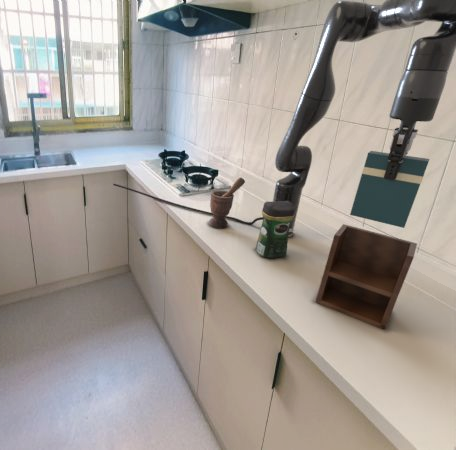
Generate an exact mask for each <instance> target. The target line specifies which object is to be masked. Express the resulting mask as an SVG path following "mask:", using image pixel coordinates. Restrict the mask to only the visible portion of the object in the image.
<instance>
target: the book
mask: <svg viewBox="0 0 456 450" xmlns="http://www.w3.org/2000/svg"><path fill="white" fill-rule="evenodd" d="M389 153H390V152H382V151H376V150H370V151H369V152H367V156H366V159H365V161H364V166H363V168H362V171H361V175H360V179H359V183H358V185H357V190H356V193H355V196H354V199H353V204H352V207H351V209H350V213H349V215H350V216H354V217H357V218H362V219H366V220H369V221H373V222H377V223H382V224H385V225H391V226H394V227H399V228H403V229H404V228H405V227H406V224H407V221H408V219H409V216H410V213H411V211H412V208H413V205H414V204H415V203H414V202H415V200H416V197H417V194H418V191H419V189H420V186H421V184H422V183H423V179H424V176H425V173H426V170H427V167H428V165H429V161H430V158H426V157H419V156H413V155H412V156H411V155H406V156H405V155H404V158H403V162H402V163H401V165H400V168H399V171H398V174H397V177H396V179H395V180H388V179H384V175H385V172H386V169H387V165H388V156H389ZM393 155H397V154H393ZM399 156H400V155H399Z"/></svg>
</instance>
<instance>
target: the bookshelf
mask: <svg viewBox="0 0 456 450" xmlns="http://www.w3.org/2000/svg"><path fill="white" fill-rule="evenodd" d="M417 245H418V243H416V242H413V241H409V240H405V239H401V238H398V237H394V236H391V235H387V234H383V233H378V232H375V231H371V230H367V229H364V228H360V227H357V226H356V227H355V226H352V225H348V224H343V223H342V225H341V226H340V227H339V229H338V230H337V231H336V232H335V233H334V234H333V238H332V242H331V246H330V248H329V253H328V255H327V259H326V263H325V267H324V270H323V274H322V277H321V281H320V284H319V288H318V292H317V296H316V299H315V303H317V304H319V305H321V306H324V307H327V308H329V309H331V310H334V311H337V312H339V313H341V314H344V315H347V316H349V317H351V318H354V319H356V320H359V321H362V322H364V323H367V324H368V325H371V326H374V327H377V328H379V329H381V330H384V331H385V330H386V327H387V325H388V324H389V323H388V322H389V320H390V317H391V315H392V312H393V310H394V308H395V305H396V303H397V300H398V298H399V295H400V293H401V290H402V288H403V286H404V282H405V280H406V278H407V275H408V273H409V270H410V268H411V265H412V262H413V260H414V258H415V254H416V250H417Z"/></svg>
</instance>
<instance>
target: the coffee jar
mask: <svg viewBox="0 0 456 450" xmlns="http://www.w3.org/2000/svg"><path fill="white" fill-rule="evenodd" d="M294 210H295V207H294V205H293V204H292V203H290V202H289V201H276V202H273V201H265V202H264V203H263V207H262V210H261V215H262V217H263V220H262V222H261V227H260V230H259V234H258V238H257V241H256V244H255V251H256V253H257V254H258V255H259V256H261V257H262V258H265V259H277V258H278V259H279V258H284V257H286V256H287V254H288V253H287V252H288V243H289V237H288V234H289V227H290V223H291V221H292V219H293V217H294Z"/></svg>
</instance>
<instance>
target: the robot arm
mask: <svg viewBox="0 0 456 450" xmlns="http://www.w3.org/2000/svg"><path fill="white" fill-rule="evenodd" d="M426 22H435V23H436V22H437V23H441V24H440V26H439V27H438V29H437V30H436V32H435V33H434V34H433V35H427V36H423V37H420V38H418V39H416V40H415V41H414V42H413V44H412V45H411V48H410V50H409V51H410V52H409V54H408V57H407V61H406V65H405V68H404V71H403V74H402V75H401V78H400V79H399V80H400V81H399V83H398V84H397V85H398V86H397V88H396V92H395V95H394V98H393V101H392V105H391V109H390V112H389V118H390V119H393V120H400V124H399V127H398V126H397V127H395V128H394V130H393V133H392V139H391V142H390V145H389V152H388V153H389V156H388V165H387V169H386V172H385V175H384V179H388V180H395V179H396V177H397V174H398V171H399V168H400V165H401V163H402V162H403V158H404V155H405V156H407V155H408V153H409V152H410V150H411V148H412V146H413V144H414V140H415V139H416V137H417V135H418V132H419V129H415V128H416V124H417V122H422V123H425V122H431V121H433V120H434V117H435V114H436V111H437V109H438V106H439V103H440V100H441V97H442V94H443V92H444V89H445V85H446V82H447V77H448V72H449V70H450V68H451V64H452V62H453V58H454V56H455V52H456V0H384V1H383V2H382V3H381V4H370V3H367V2H363V1H352V0H339V1H336V2H335V3H334V4H333V5H332V6H331V8H330V10H329V11H328V14H327V16H326V18H325V21H324V24H323V28H322V31H321V35H320V38H319V41H318V45H317V48H316V51H315V55H314V58H313V61H312V65H311V67H310V70H309V73H308V76H307V78H306V81H305V83H304V85H303V88H302V91H301V93H300V96H299V98H298V101H297V104H296V108H295V110H294V113H293V116H292V118H291V121H290V123H289V126H288V128H287V131H286V133H285V135H284V137H283V139H282V141H281V144H280V145H279V147H278V150H277V153H276V155H275V163H274V164H275V169H276V170H277V171H278V172H281V173H289V174H287V175H286V176H285V177H282V178H280V179H278V180H276V183H275V187H274V192H273V198H272V202H276V201H289V202H290V203H292V204H293V205H294V207H295V210H294V217H293V219H292V221H291V223H290V227H289V234H288V238H290V237H292V236H293V234H294V229H295V225H296V224H295V223H296V219H297V215H298V210H299V207H300V202H301V198H302V193H303V189H304V187H305V186H306V183H307V179H308V176H309V172H310V169H311V166H312V161H313V153H312V150H311V148H310V147H309V146H307V145H299V144H300V142H301V141H302V139H303V138H304V137H305V135H307V133H308V132H309V131H311V130H312V129H313V128H314V127H315V126H316V125H318V124H319V122H320V121H322V119H323V118H324V117H325V116H326V115H327V113H328V111H329V108H330V107H331V105H332V102H333V100H334V97H335V94H336V80H335V75H334V69H333V58H334V57H333V56H334V52H335V50H336V46H337V44H338V43H339V42H341V43H358V42H361V41H364V40H366V39H368V38H371V37H374V36H376V35H378V34H381V33H384V32H389V31H394V30H395V31H396V30H401V29H408V28H413V27H417V26H419V25H423V24H424V23H426ZM393 154H397V155H393ZM399 155H400V156H399ZM112 186H115V187H117V188H118V187H119V188H121V189H125V190H127V191H131V192H133V193H136V194H139V195H142V196H145V197H148V198H151V199H154V200H157V201H160V202H163V203H166V204H169V205H172V206H176V207H179V208H183V209H185V210H190V211H194V212H198V213H201V214H206V215H209V216H214V215H213V214H212V212H211V211H206V210H202V209H199V208H198V209H197V208H193V207H190V206H187V205H182V204H179V203H175V202H172V201H169V200H166V199H162V198H160V197H156V196H154V195H151V194H148V193H145V192H143V191H142V192H141V191H139V190H137V189H134V188H130V187H127V186H125V185H121V184H117V183H112ZM225 219H226V220H227V219H228V220H232V221H235V222H238V223H241V224H244V225H249V226H250V225H251V226H252V225H254V224H255V223H256V222H257V221H263V216H261V217H256V218H255V219H253V220H252V221H250V222H248V221H244V220H241V219H239V218H237V217H233V216H228V215H227V216H225Z"/></svg>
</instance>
